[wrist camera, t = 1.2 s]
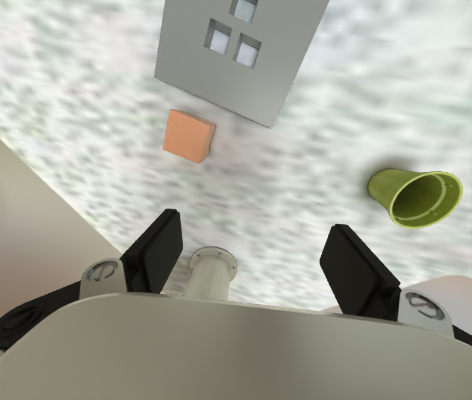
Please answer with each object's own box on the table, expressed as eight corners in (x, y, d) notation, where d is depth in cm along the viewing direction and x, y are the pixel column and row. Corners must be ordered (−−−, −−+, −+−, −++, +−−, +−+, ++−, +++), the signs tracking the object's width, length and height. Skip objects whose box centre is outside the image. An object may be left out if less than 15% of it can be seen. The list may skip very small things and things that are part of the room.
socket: (270, 128, 31) (272, 128, 28) (163, 81, 29) (154, 77, 26) (337, -25, 22) (349, -45, 20) (193, -103, 21) (185, -138, 18)
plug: (208, 156, 34) (198, 163, 27) (179, 144, 33) (162, 149, 27) (218, 125, 31) (210, 125, 25) (186, 111, 31) (170, 109, 24)
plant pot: (348, 196, 35) (376, 218, 27) (378, 152, 31) (422, 162, 23) (388, 211, 36) (427, 236, 28) (423, 169, 32) (480, 184, 24)
